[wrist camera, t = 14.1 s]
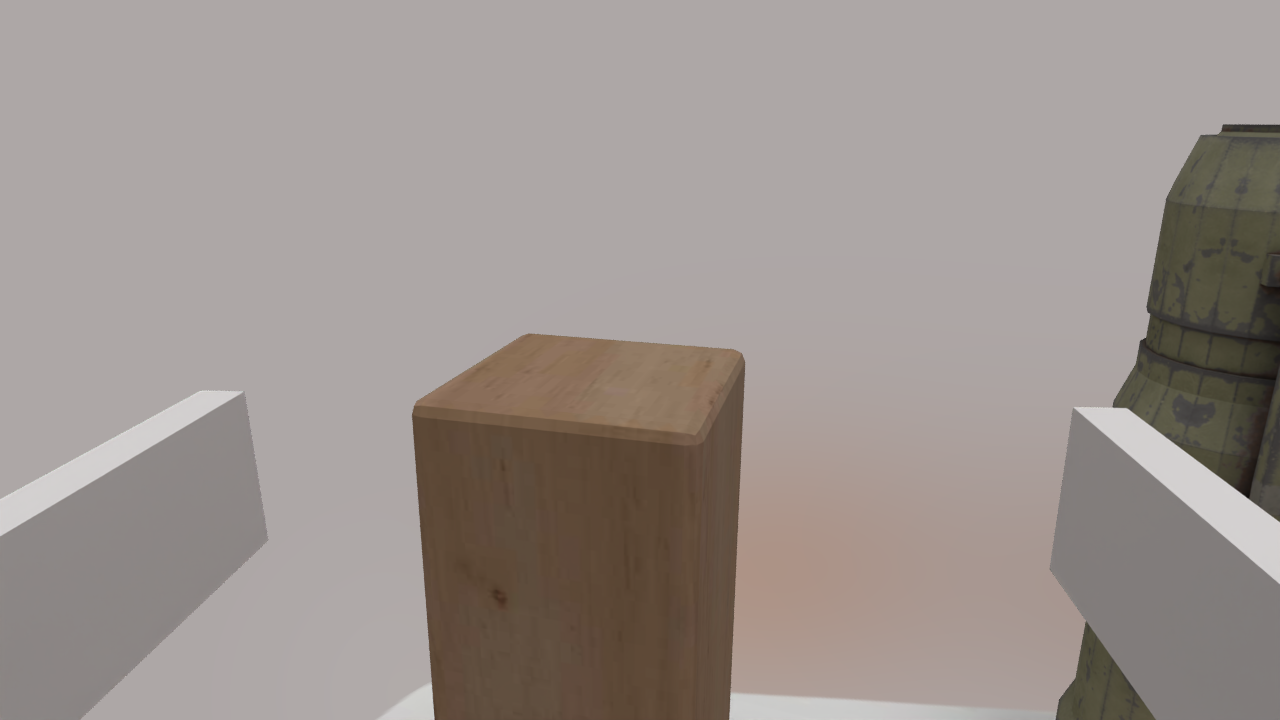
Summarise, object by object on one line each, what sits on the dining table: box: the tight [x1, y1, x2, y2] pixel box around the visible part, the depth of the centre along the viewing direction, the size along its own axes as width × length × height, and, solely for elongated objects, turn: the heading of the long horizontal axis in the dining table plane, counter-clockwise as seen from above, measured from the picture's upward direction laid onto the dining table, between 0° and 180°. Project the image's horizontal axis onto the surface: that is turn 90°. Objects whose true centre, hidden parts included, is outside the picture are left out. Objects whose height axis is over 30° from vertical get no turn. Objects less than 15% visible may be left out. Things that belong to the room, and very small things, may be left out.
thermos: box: [1056, 125, 1280, 720], centre depth 37 cm, size 9×12×35 cm
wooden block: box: [412, 334, 745, 720], centre depth 34 cm, size 10×10×20 cm
